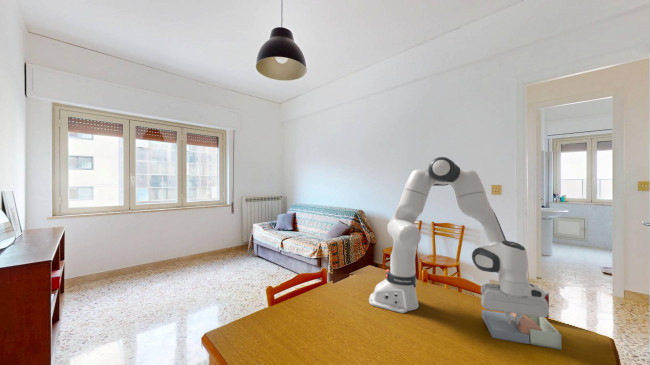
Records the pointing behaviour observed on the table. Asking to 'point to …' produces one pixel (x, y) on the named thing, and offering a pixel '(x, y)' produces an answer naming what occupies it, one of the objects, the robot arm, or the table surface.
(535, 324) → the tile
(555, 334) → the bin
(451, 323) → the table surface
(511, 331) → the shallow grey tray
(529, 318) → the tile
